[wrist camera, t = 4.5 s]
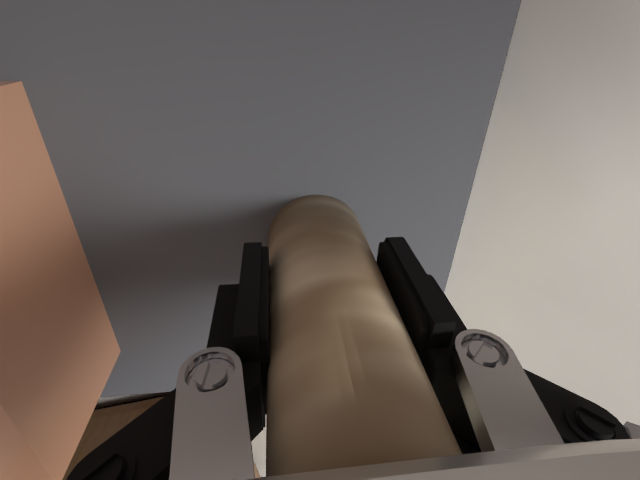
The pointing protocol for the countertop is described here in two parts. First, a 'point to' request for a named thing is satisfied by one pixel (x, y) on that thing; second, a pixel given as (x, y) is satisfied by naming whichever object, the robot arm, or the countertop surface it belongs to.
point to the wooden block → (110, 428)
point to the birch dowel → (340, 352)
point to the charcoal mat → (247, 137)
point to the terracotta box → (43, 308)
